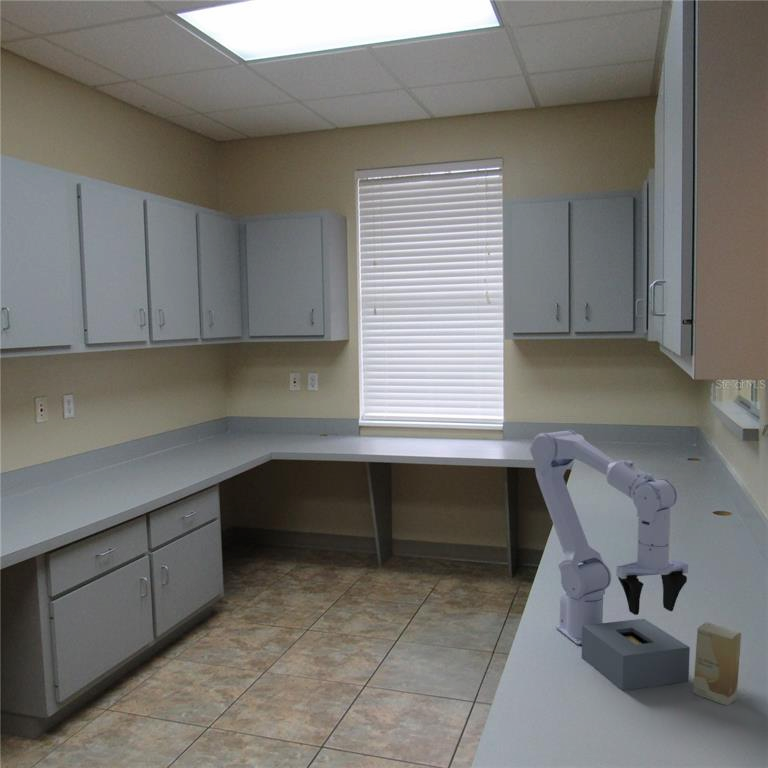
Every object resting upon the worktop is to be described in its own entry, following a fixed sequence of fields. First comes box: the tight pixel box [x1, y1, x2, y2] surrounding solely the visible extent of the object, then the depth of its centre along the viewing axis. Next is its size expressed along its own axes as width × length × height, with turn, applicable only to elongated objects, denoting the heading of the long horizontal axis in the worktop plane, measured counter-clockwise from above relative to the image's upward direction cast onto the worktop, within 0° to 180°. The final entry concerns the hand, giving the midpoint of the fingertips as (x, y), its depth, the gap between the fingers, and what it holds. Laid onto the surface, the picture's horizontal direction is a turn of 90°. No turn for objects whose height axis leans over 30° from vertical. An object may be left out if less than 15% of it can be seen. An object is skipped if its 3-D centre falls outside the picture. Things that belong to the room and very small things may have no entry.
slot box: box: [581, 618, 691, 691], centre depth 141 cm, size 14×14×6 cm
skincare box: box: [692, 622, 742, 706], centre depth 130 cm, size 6×4×12 cm
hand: (651, 611), depth 143 cm, fingers open, 7 cm apart
